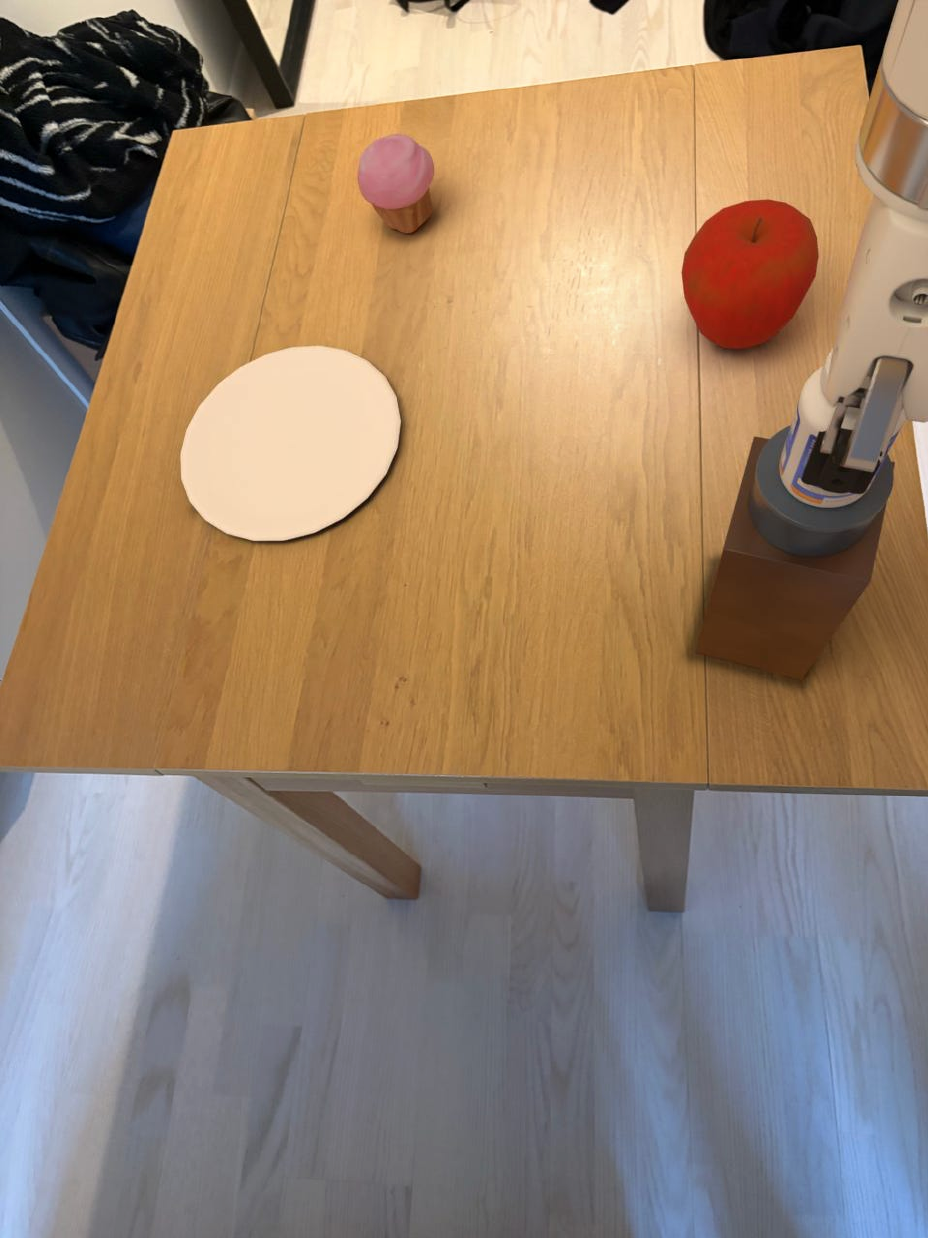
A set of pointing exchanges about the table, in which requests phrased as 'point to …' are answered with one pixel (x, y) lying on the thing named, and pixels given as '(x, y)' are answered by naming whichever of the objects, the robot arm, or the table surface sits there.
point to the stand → (780, 593)
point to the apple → (749, 271)
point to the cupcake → (397, 181)
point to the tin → (810, 509)
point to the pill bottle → (803, 434)
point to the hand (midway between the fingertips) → (847, 419)
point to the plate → (290, 443)
